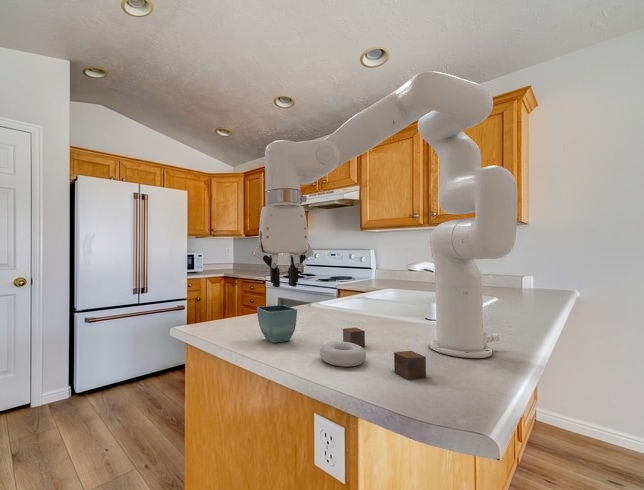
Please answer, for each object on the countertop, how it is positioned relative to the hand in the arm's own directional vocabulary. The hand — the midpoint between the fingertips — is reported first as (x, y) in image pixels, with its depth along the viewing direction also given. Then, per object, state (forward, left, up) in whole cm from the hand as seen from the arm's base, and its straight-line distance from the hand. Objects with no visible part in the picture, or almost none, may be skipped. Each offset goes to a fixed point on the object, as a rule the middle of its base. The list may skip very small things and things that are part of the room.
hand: (284, 285), depth 68 cm
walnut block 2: (-22, +11, -17) cm, 30 cm away
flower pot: (-4, -20, -17) cm, 27 cm away
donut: (-13, 0, -17) cm, 22 cm away
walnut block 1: (-22, -10, -17) cm, 30 cm away
